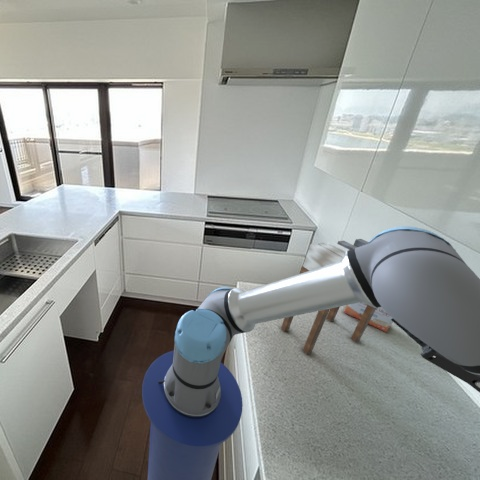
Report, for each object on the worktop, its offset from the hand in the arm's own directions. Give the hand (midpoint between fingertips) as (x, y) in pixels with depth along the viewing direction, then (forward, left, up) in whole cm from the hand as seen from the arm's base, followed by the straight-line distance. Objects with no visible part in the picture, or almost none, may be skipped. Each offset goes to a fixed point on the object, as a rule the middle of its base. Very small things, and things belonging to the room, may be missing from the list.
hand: (411, 306), depth 58 cm
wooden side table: (-6, +21, -30) cm, 37 cm away
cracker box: (+14, +36, -31) cm, 49 cm away
